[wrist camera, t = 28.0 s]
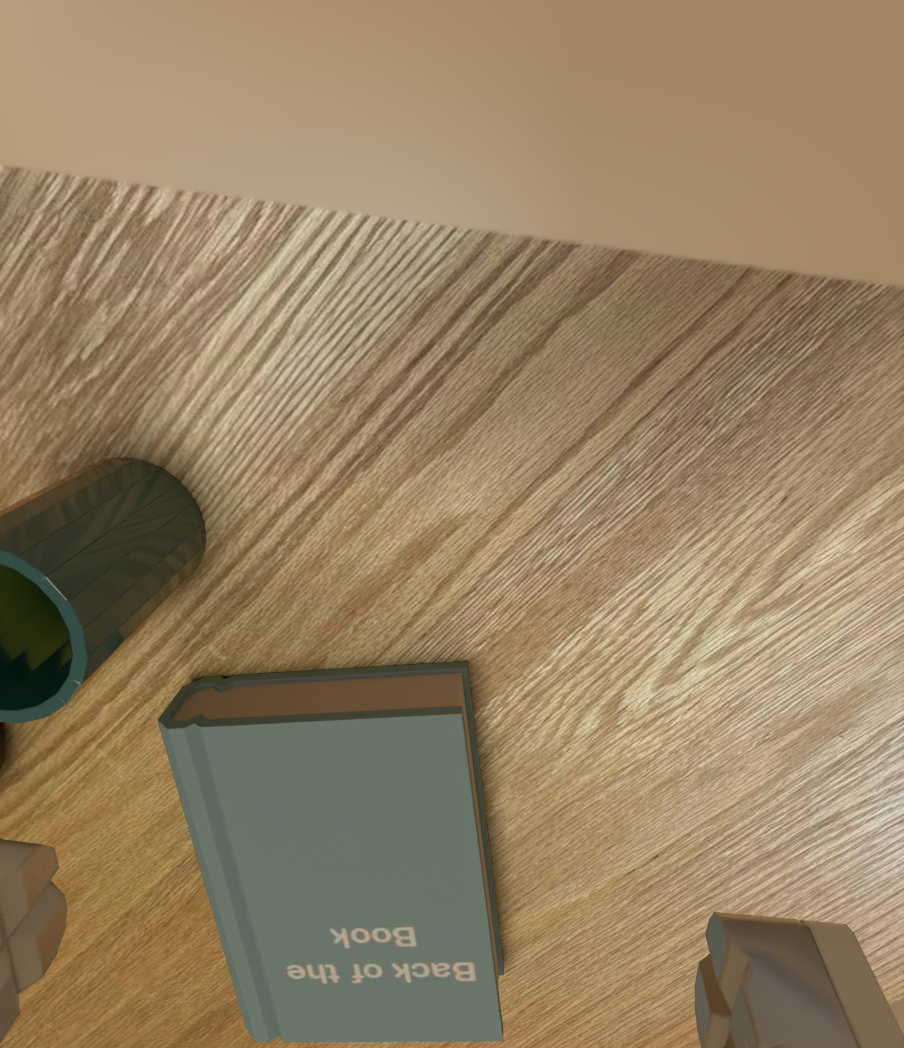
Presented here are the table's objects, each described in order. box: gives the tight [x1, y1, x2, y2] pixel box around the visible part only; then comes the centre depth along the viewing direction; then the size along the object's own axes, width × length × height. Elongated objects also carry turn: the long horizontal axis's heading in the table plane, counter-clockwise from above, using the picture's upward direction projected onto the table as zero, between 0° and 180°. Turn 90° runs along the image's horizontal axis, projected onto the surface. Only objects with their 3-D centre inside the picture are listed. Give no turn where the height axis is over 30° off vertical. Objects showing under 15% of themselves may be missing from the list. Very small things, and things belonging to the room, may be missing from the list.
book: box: [158, 661, 504, 1042], centre depth 44 cm, size 23×16×5 cm
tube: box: [0, 458, 205, 723], centre depth 35 cm, size 8×8×12 cm
